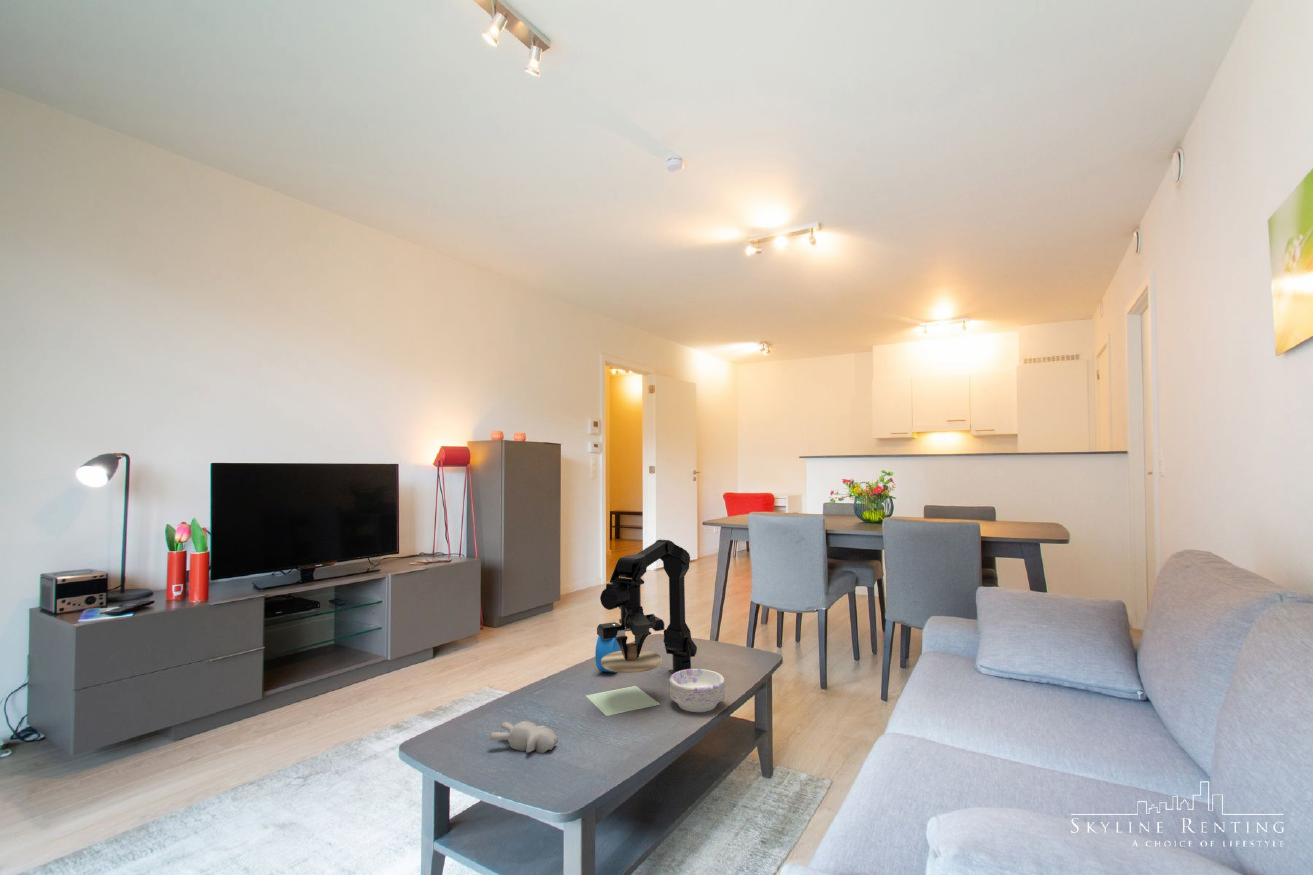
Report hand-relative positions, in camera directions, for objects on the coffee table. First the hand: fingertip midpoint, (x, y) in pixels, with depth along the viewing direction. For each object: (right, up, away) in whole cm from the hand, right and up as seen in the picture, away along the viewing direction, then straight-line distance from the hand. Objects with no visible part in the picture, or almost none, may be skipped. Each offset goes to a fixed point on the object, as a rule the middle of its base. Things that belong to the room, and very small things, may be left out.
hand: (631, 657), depth 169 cm
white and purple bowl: (+18, -12, -4) cm, 22 cm away
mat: (-3, -12, 0) cm, 13 cm away
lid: (0, -1, 0) cm, 1 cm away
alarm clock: (-8, -14, +25) cm, 30 cm away
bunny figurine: (-24, -12, -27) cm, 38 cm away
